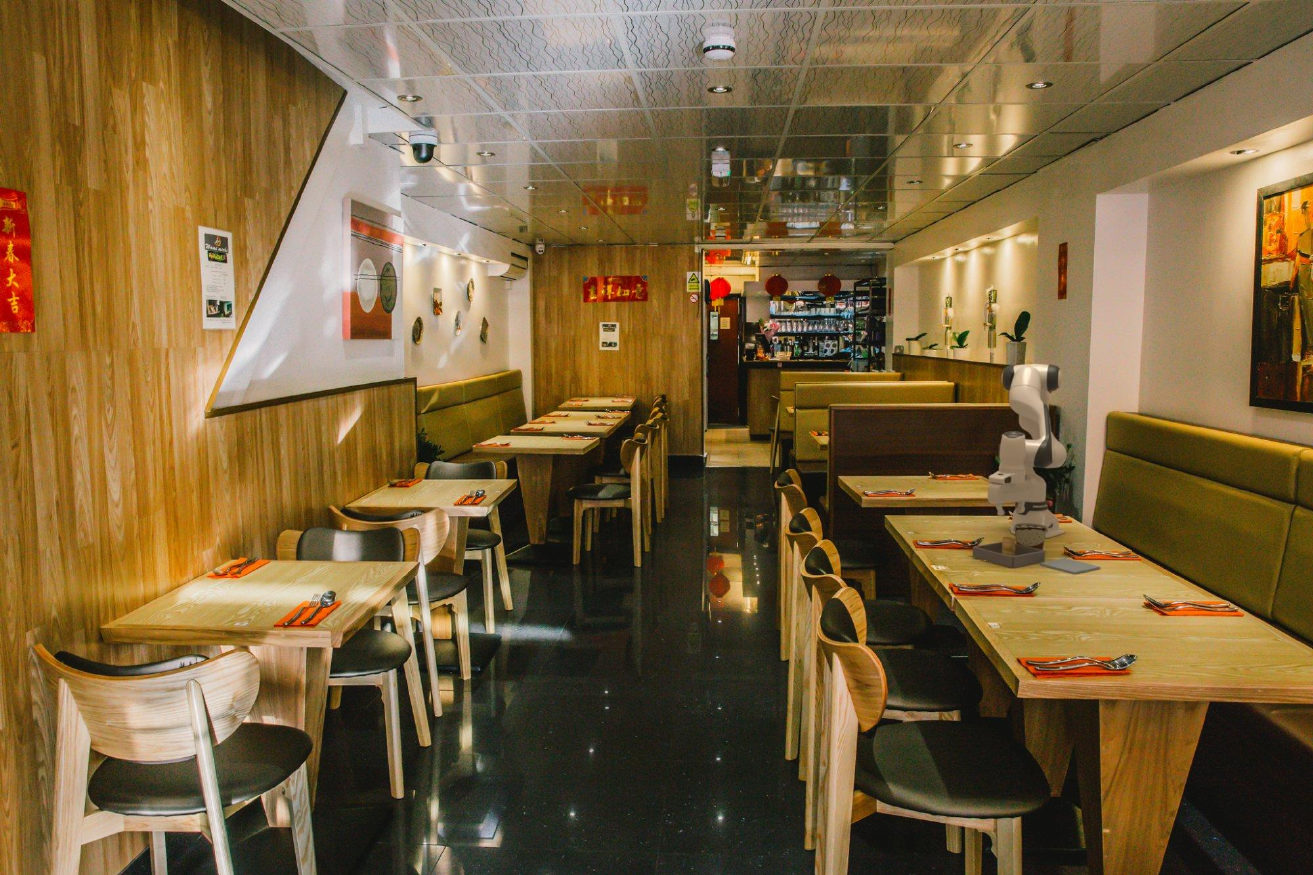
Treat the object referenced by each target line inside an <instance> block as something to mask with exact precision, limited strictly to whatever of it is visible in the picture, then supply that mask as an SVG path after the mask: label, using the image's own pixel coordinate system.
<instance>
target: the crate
mask: <svg viewBox="0 0 1313 875" xmlns="http://www.w3.org/2000/svg"><path fill="white" fill-rule="evenodd" d="M972 557H975V558H977V559H976V560H979V559H981V560H980V561H983V560H986V561H988V563H990V562H992V563H991V564H994V565H997V564H998V566H1002V567H1005V568H1008V569H1016V568H1021V567H1026V566H1031V565H1037V564H1038V565H1039V564H1040V563H1043V562H1046V561H1045V559H1046V551H1045V549H1043V550H1040V549H1036V548H1031V547H1027V546H1023V545H1019V544H1016V543H1015V556H1008V555H1004V554H1002V541H997V542H992V543H991V542H990V543H986V544H979V545H974V546H973V547H972ZM975 558H974V559H975ZM986 561H985V562H986Z"/></svg>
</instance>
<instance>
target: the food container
mask: <svg viewBox="0 0 1313 875" xmlns="http://www.w3.org/2000/svg"><path fill="white" fill-rule="evenodd" d="M1014 530H1015V534H1014V535H1015V537H1014V538H1015V539H1016V540H1015V544H1019V545H1023V546H1027V547H1031V548H1036V549H1040V550H1044V547H1045V546H1044V545H1045V540H1046V538H1045V534H1046V532H1048V531H1047V528H1046V526H1044V525H1040V524H1033V523H1019V524H1015V526H1014V529H1013V531H1014Z"/></svg>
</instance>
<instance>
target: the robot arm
mask: <svg viewBox="0 0 1313 875" xmlns="http://www.w3.org/2000/svg"><path fill="white" fill-rule="evenodd" d="M1062 380H1063V374H1062V371H1061V368H1060V367H1059V366H1058V365H1055V364H1051V363H1049V364H1043V363H1031V364H1028V363H1027V364H1025V363H1024V364H1017V365H1015V364H1011V365H1008V366H1006V367H1004V368H1003V371H1002V373H1001V383H1002V388H1004V389H1005V390H1006V391H1009V392H1008V393H1009V395H1008V404H1009V406H1010V408H1011V410H1013V412H1015V413H1016V414H1017V415H1018V424H1019V426H1020V427H1021V429H1022V430H1024V431H1025V432H1028V433H1029V434H1030V436H1031V439H1028V438H1027V439H1026V435H1025V433H1024V432H1021V431H1018V430H1017V431H1011V430H1009V431H1006V432H1004V433H1002V434H1001V440H1000V443H999V445H998V450H997V452H998V455H997V456H998V459H999V461H1000V463H999V466H998V470H997V471H996V472H994V473H993V474H990V475H989V476H988V482H990V483H989V484H988V487H987V502H988V503H989V504H993V505H995V508H996V510H997V516H1001V517H1002V516H1005V510H1004V509H1003V506H1004V504H1009V503H1014V508H1015V509H1014V511H1013V514H1012V520H1011V526H1010V527H1009V530H1010V533H1011V534H1013V535H1015V530H1014V531H1013V529H1014V526H1015V524H1019V523H1033V524H1040V525H1044V526H1046V528H1047V531H1048V532H1046V534H1045V539H1050V538H1054V537H1057V536H1059V535H1063V534H1065V533H1066V532H1065V531H1066V530H1064V529H1062V528H1059V527H1060V521H1059V518H1058V517H1057V516H1056V515H1055V514H1053V513H1052V512H1051V510H1049V506H1050V507H1051V506H1053V501H1051V500H1046V496H1047V495H1046V494H1047V483H1046V481H1045V479H1044V478H1043V477H1042V476H1040V475H1038V474H1036V472H1035V471H1034V468H1040V469H1052V468H1053V469H1054V468H1060V467H1062V466H1063V465H1064V463H1065V462H1066V460H1067V455H1068V453H1067V449H1066V447H1065V445H1064V444H1062V443H1061V442H1059V441H1058V439H1057V438H1056V437H1055V436H1054V434H1053V432H1052V426H1051V417H1050V410H1049V408H1050V406H1049V404H1050V402H1049V401H1050V400H1049V394H1052V393H1053V392H1055V391H1057V390H1058V389H1059V388H1060V387H1061V383H1062Z"/></svg>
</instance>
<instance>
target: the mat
mask: <svg viewBox="0 0 1313 875" xmlns="http://www.w3.org/2000/svg"><path fill="white" fill-rule="evenodd" d="M1039 566H1041V567H1044V568H1047V569H1052V570H1056V571H1060V572H1064V573H1068V574H1071V575H1079V574H1083V573H1088V572H1093V571H1097V570H1101V566H1099V565H1095V564H1089V563H1086V562H1082V561H1078V560H1074V559H1070V558H1066V557H1065V558H1060V559H1054V560H1048V561H1045V562H1043V563H1039Z"/></svg>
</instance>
